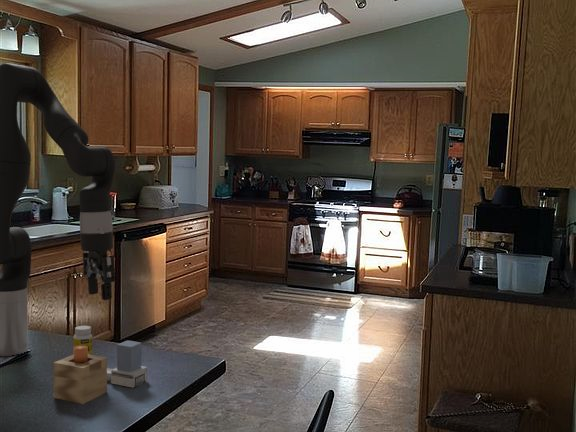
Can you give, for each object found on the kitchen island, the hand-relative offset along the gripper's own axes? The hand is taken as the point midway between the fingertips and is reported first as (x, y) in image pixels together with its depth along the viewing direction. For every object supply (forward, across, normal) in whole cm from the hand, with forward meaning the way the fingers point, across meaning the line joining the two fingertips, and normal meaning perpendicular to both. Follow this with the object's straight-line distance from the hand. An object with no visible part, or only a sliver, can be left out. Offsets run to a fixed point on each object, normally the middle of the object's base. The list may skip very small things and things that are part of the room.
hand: (99, 296), depth 158 cm
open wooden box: (+19, +10, -10) cm, 24 cm away
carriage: (+20, +9, +2) cm, 22 cm away
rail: (+19, +4, -1) cm, 20 cm away
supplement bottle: (+19, -13, 0) cm, 23 cm away
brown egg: (+12, +11, -9) cm, 18 cm away
